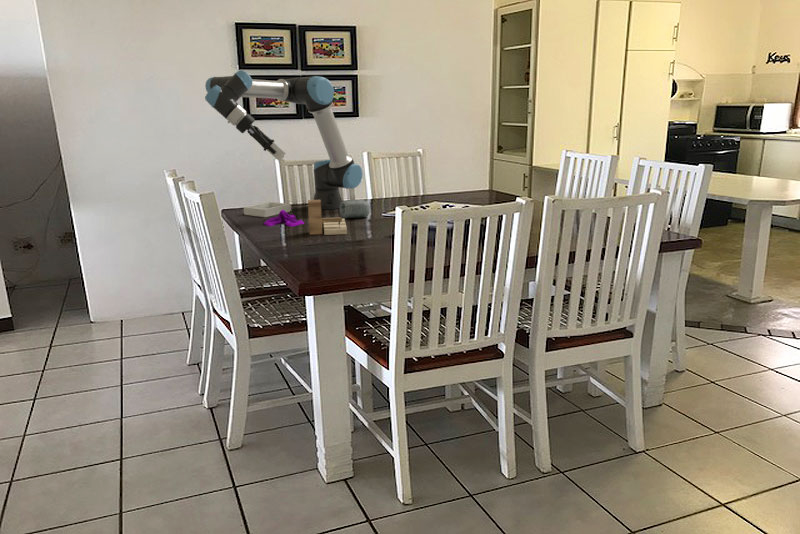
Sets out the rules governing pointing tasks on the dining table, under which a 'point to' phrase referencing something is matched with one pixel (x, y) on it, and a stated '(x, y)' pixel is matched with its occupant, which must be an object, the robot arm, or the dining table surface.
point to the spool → (354, 209)
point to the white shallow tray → (266, 209)
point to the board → (335, 228)
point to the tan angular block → (318, 217)
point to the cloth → (283, 220)
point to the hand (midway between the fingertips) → (282, 157)
